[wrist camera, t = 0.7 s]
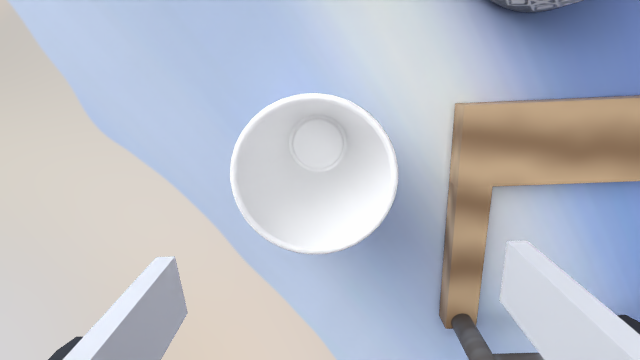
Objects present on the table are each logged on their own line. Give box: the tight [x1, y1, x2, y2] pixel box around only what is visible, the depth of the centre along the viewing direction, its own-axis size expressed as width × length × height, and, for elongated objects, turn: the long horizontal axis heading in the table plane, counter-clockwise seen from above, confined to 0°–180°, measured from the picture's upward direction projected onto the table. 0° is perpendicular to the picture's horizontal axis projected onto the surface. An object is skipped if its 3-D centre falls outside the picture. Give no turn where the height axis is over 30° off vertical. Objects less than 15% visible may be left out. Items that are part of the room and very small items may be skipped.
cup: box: [230, 93, 398, 254], centre depth 25 cm, size 10×10×11 cm
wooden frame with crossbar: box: [439, 95, 640, 360], centre depth 28 cm, size 22×24×8 cm
